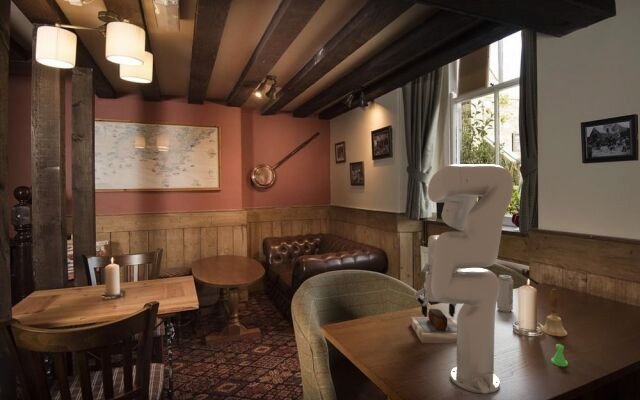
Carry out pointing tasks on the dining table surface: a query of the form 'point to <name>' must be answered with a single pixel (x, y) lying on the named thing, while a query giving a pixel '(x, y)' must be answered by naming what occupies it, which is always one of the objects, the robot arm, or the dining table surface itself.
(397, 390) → the dining table surface
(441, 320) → the brick
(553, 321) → the hand bell
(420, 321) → the plinth
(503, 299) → the energy drink can
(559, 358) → the game piece
